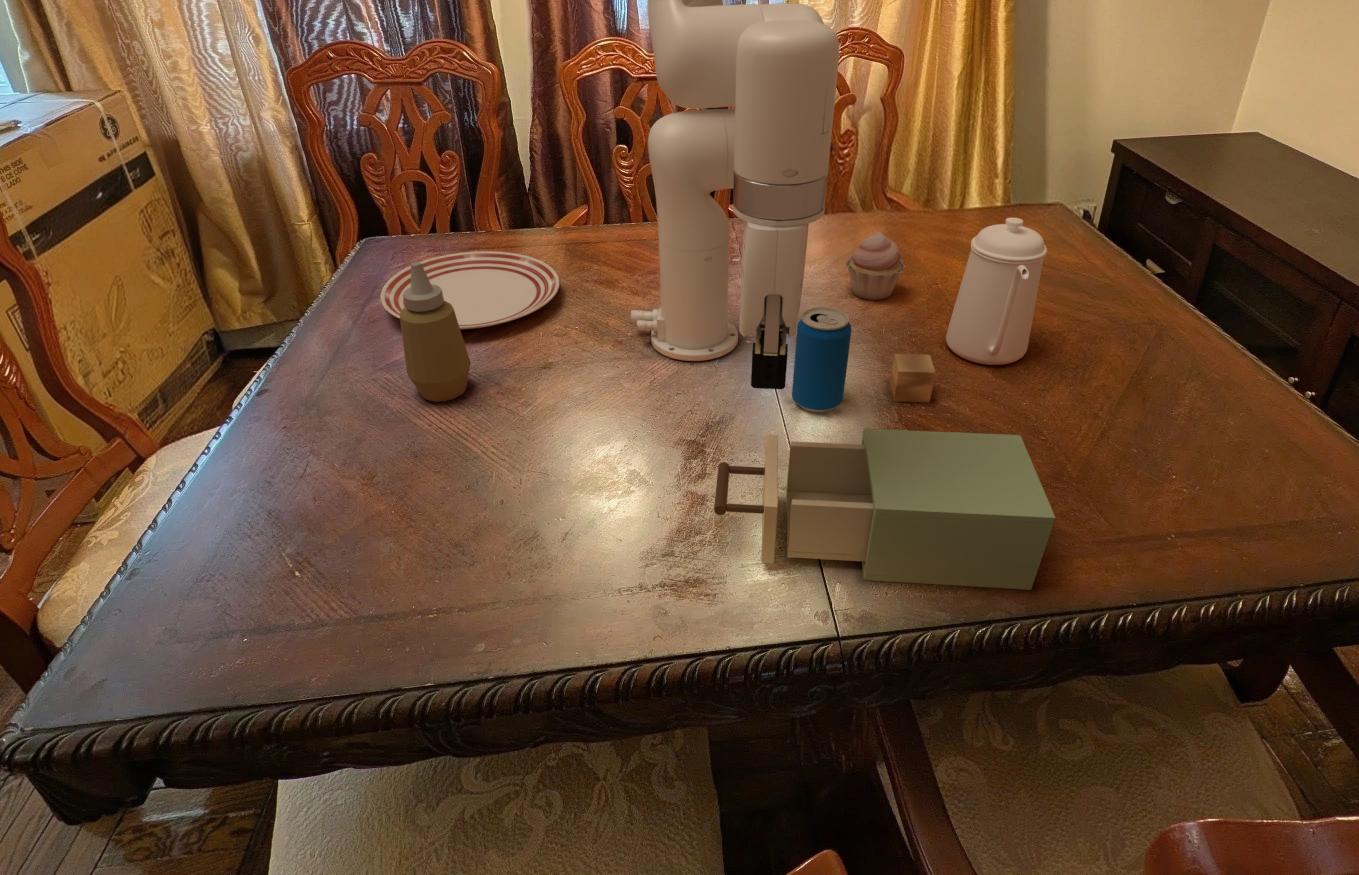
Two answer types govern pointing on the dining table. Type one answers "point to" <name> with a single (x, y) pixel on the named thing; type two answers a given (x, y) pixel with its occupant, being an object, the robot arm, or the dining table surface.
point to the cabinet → (954, 509)
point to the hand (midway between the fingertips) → (768, 383)
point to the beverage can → (821, 359)
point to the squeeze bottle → (432, 340)
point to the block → (912, 378)
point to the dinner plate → (481, 286)
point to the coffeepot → (997, 294)
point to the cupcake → (875, 267)
